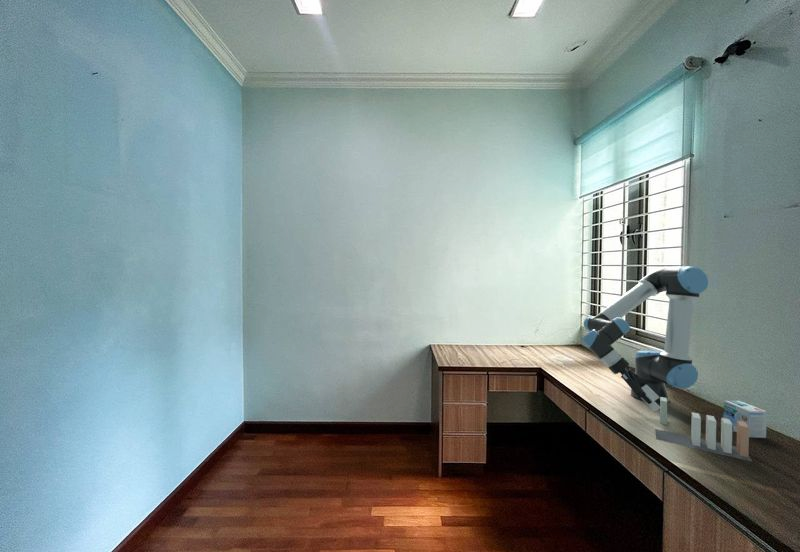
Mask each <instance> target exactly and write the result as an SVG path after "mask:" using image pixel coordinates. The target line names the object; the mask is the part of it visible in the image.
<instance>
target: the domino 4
mask: <svg viewBox="0 0 800 552" xmlns="http://www.w3.org/2000/svg"><path fill="white" fill-rule="evenodd" d="M720 419H721V420H720V443H721V447H722V450H723V452H726V453H730V454H732V446H733V431H732V423H731V421H730V420H729V419H726V418H723V417H721V418H720Z"/></svg>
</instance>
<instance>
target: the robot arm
mask: <svg viewBox="0 0 800 552" xmlns="http://www.w3.org/2000/svg"><path fill="white" fill-rule="evenodd" d="M708 285H709V277H708V276H707V274H706V272H704V270H702V269H701V268H699V267H697V266H691V265H690V266H689V265H682V266H663V267H660V268H658V269H655V270H653V271H651V272H650V273H648V274H647V275H645V276H643V277H642V278H641V279H639V280H638V281H637V284H636V285H635V286H634V287H632V288H631V289H630V290H628V291H627V292H626V293H625V294H623V295H622V296H620V297H619V298H618V299H616V300H615V301H613V302H612V303H611V304H609V305H608V306H607V307H606V308H604V309H603V310H602V311H601V312H599V313H597V314H596V315H595V316H587V317H586V318H585V319H584V321H583V327H584V329H585V330H586V331H588V333H586V334H585V335H584V336H583V337H582V338H581V341H582V342H583V343H584V344H585V346H586V347H587V348H588V349H589V350H590V351H591V352H592V353H593V354H594V355H595V356H596V357H597V358H598V359H599V360H600V363H601V364H602V363H603V364H604V365H605V366H607V367H608V369H609V370H610V371H611V372H612V374H613V375H618V374H620V378H621V379H623V381H625V383H626V384H627V386H629V388H630V395H631V396H632V397H633V398H635V399H637V400H640V401H643V402H644V403H645V404H647V406H648V407H649V408H650V409H651V410H652V411H654V412H657V411H658V410H659V411H660V408H661V407H660V397H664V398H667V403H669V402H670V395H669V393H668V391H667V388H666V385H668V386H670V387H672V388H677V389H681V390H685V389H688V388H690V387H692V386H693V385H695V383H696V382H697V381H698V378H699V371H698V369H697V368H696V367H695V366H694V365H693V358H692V357H691V356H690V354H689V353H690V344H691V343H690V342H691V334H692V325H693V324H692V323H693V317H694V316H693V315H694V307H695V301H696V300H698V299H700V294H701V293H703V292H704V291H706V289H707V288H708ZM663 292H665V295H666V297H668V299H669V301H668V302H669V303H668V311H667V321H666V330H665V331H666V332H665V339H664V340H665V341H664V349H663V351H660V350H641V349H640V350H638V351H636V353H635V362H634V363H635V372H634V371H633V370H632V369H631V368H630V367H629V365H630V363H629V362H628V361H627V360H626V359H625V358H624V357H622V354H621V353H619V351H618V350H616V349H615V348H614V347H613V346H612V345H613V344H614V343H615V342H617V341H618V340H619V339H621V338H622V337H623V336H625V335H626V334H627V333H628V332H629V331H630V329H631V326H630V325H629V323H628V322H627V320H625V319H624V318H623V317H625V316H626V315H627V314H628V313H630V312H631V311H633V310H634V309H636V308H637V307H638V306H640V305H641V304H642V303H644V302H645V301H647V299H649V298H651V297H655V296H657V295H658V294H660V293H663Z"/></svg>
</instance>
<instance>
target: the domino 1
mask: <svg viewBox="0 0 800 552" xmlns="http://www.w3.org/2000/svg"><path fill="white" fill-rule="evenodd" d="M659 406H660V407H661V408H660V409H659V422H660V424H661V425H668V424H667V423H668V402H667V398H664V397H660V403H659Z"/></svg>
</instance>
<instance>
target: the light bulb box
mask: <svg viewBox="0 0 800 552" xmlns="http://www.w3.org/2000/svg"><path fill="white" fill-rule="evenodd" d="M767 413H768V412H767V411H766V410H764V409H761V408H759V407H756V406H754V405H752V404H748V403H746V402H744V401H742V400H724V401H723V417H722V418H726V419H729V420H730V421H731V423H732V433H733V432H734V433H737V421H742V422H745V423H746V424H747V425H748V427H749V438H757V439H759V438H761V439H767V421H768V416H767V415H768V414H767Z"/></svg>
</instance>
